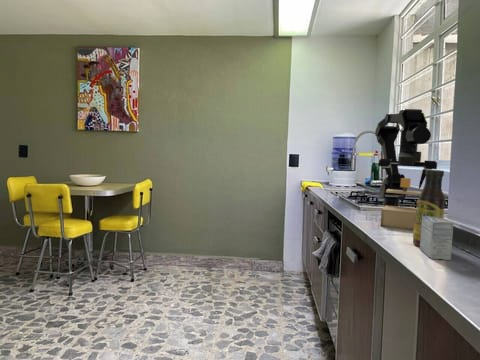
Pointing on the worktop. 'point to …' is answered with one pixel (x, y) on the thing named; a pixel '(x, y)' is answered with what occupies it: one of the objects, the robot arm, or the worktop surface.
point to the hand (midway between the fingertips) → (405, 187)
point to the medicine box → (436, 237)
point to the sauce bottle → (429, 201)
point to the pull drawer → (404, 188)
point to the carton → (398, 217)
